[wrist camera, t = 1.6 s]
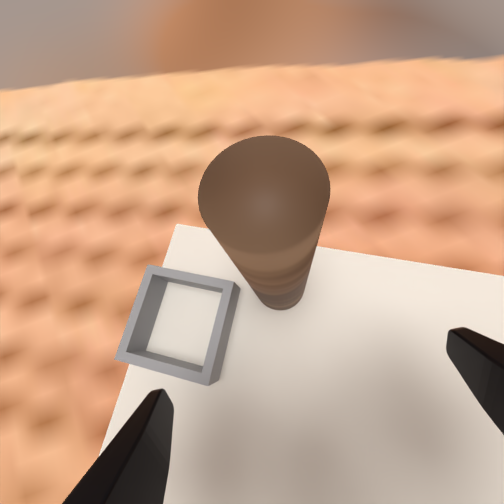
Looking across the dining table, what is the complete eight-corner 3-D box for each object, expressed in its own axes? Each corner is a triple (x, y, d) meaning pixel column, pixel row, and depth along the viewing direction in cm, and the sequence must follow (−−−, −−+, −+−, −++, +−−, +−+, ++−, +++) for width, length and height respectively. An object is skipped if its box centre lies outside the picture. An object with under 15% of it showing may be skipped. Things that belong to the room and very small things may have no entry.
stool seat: (527, 816, 12) (657, 1076, 8) (71, 587, 17) (-1, 669, 13) (499, 285, 19) (559, 269, 15) (185, 233, 24) (163, 209, 20)
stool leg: (300, 315, 18) (319, 262, 6) (250, 304, 19) (182, 239, 7) (308, 266, 20) (338, 140, 7) (260, 258, 20) (216, 131, 8)
